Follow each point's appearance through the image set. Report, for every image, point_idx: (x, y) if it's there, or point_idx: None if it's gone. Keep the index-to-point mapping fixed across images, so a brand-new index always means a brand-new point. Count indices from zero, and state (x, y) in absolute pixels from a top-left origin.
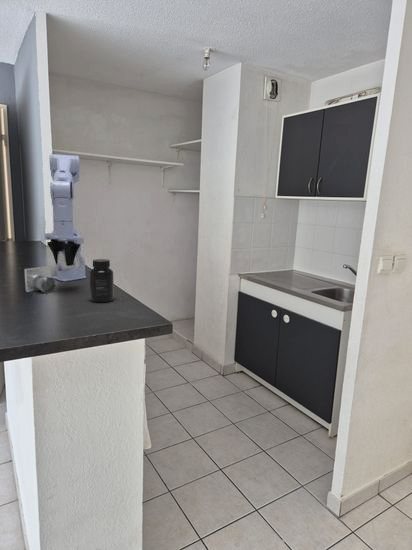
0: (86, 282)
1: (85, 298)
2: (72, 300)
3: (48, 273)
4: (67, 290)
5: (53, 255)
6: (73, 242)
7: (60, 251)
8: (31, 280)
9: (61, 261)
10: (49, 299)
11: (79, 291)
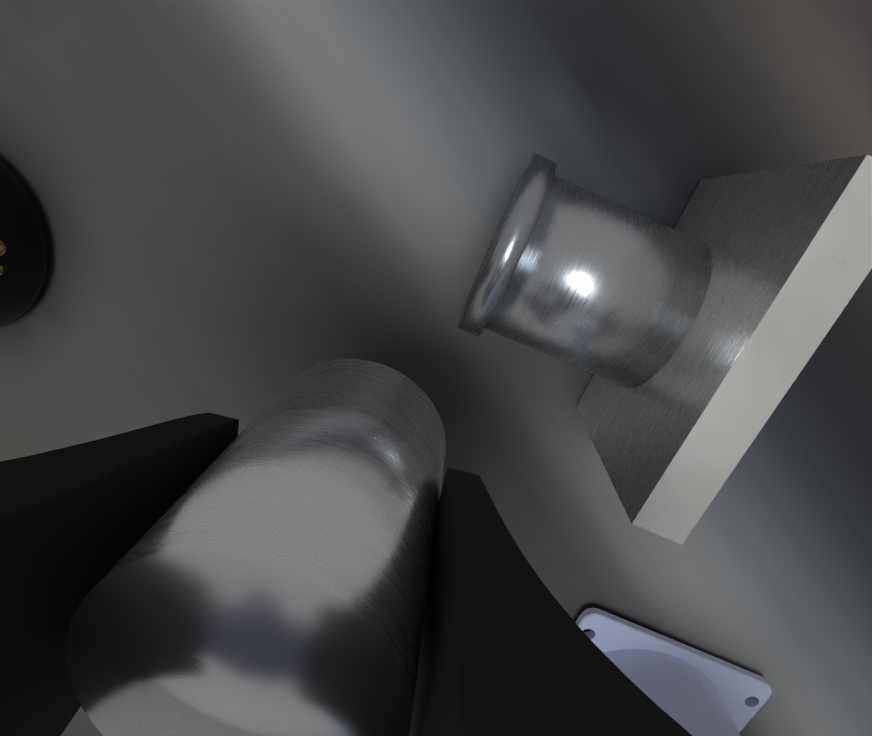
0: None
1: (98, 214)
2: (143, 105)
3: (625, 446)
4: None
5: (517, 551)
6: None
7: (242, 590)
8: (725, 227)
9: (283, 421)
10: (339, 35)
11: None
